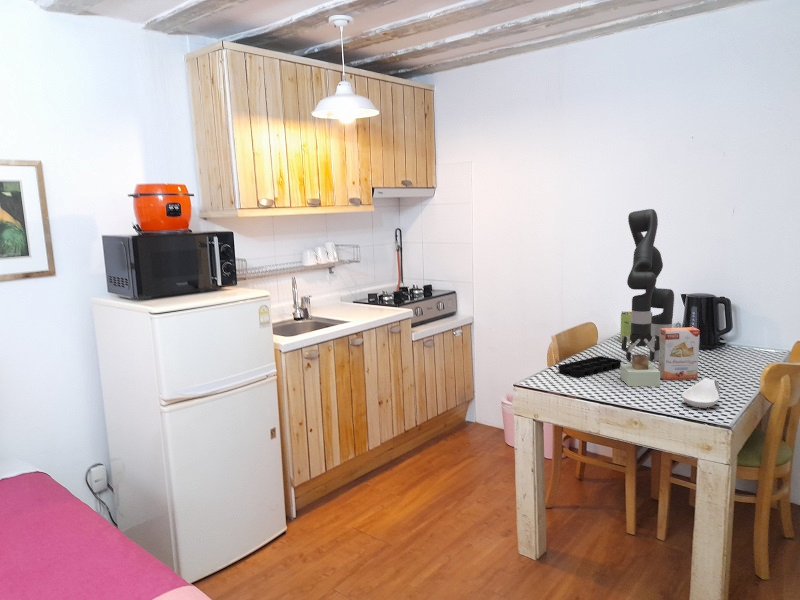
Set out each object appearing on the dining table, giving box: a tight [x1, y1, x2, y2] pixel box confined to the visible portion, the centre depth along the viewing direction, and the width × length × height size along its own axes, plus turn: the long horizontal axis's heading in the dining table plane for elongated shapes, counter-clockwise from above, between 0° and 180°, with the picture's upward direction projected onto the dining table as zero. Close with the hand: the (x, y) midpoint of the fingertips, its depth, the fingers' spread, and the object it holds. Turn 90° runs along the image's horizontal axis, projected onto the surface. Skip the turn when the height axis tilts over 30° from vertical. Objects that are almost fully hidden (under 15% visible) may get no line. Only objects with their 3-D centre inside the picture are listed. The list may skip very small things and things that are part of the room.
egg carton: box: [557, 355, 622, 379], centre depth 253 cm, size 18×30×4 cm, turn 133°
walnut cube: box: [631, 353, 650, 370], centre depth 231 cm, size 5×5×5 cm
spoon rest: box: [681, 377, 721, 409], centre depth 207 cm, size 24×12×7 cm, turn 139°
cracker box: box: [657, 326, 701, 381], centre depth 235 cm, size 14×6×21 cm, turn 90°
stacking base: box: [620, 363, 661, 388], centre depth 232 cm, size 12×12×6 cm
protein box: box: [619, 310, 653, 343], centre depth 303 cm, size 10×15×16 cm
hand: (640, 360), depth 231 cm, fingers open, 8 cm apart
